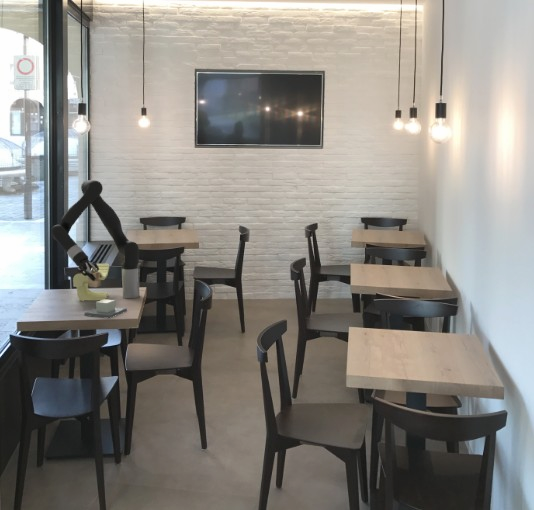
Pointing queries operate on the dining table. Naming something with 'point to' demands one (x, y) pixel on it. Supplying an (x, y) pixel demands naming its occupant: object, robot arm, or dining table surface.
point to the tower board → (103, 314)
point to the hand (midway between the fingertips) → (97, 278)
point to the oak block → (97, 281)
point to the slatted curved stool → (82, 284)
